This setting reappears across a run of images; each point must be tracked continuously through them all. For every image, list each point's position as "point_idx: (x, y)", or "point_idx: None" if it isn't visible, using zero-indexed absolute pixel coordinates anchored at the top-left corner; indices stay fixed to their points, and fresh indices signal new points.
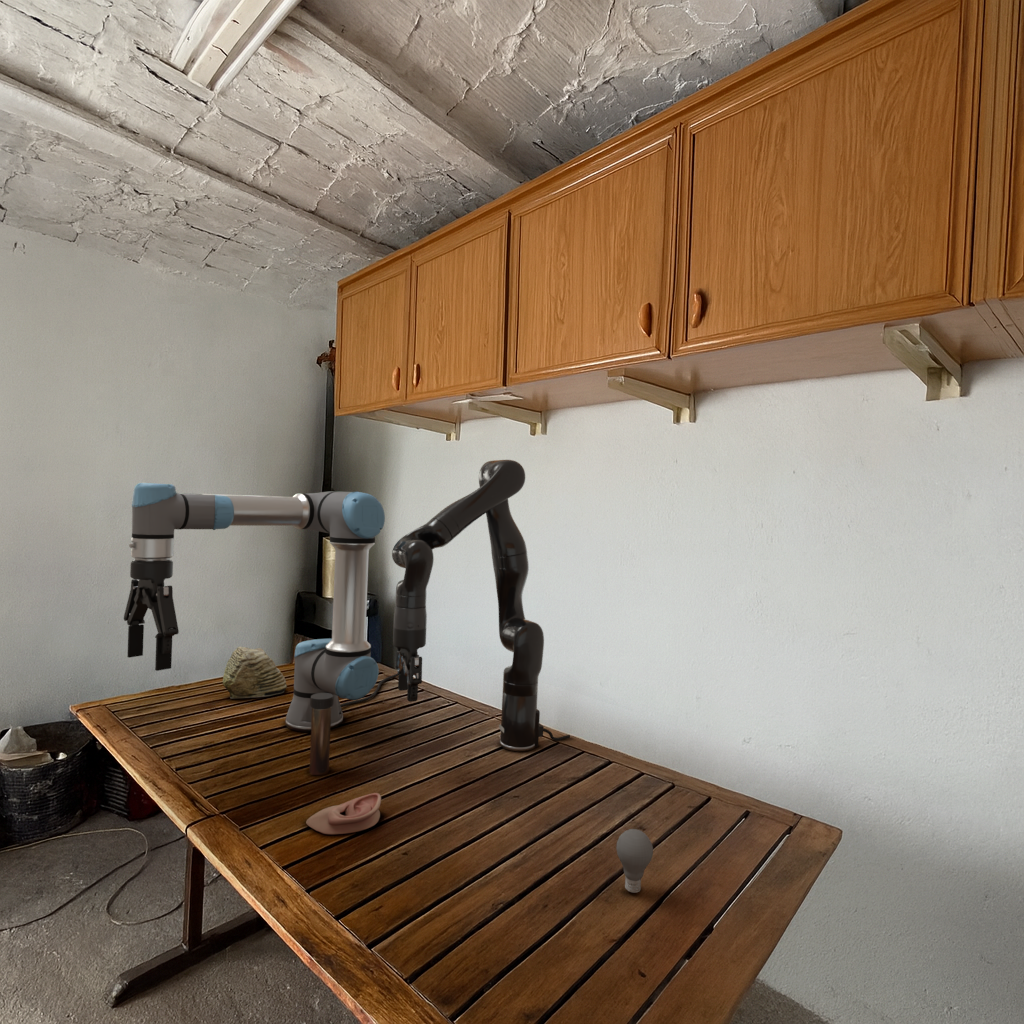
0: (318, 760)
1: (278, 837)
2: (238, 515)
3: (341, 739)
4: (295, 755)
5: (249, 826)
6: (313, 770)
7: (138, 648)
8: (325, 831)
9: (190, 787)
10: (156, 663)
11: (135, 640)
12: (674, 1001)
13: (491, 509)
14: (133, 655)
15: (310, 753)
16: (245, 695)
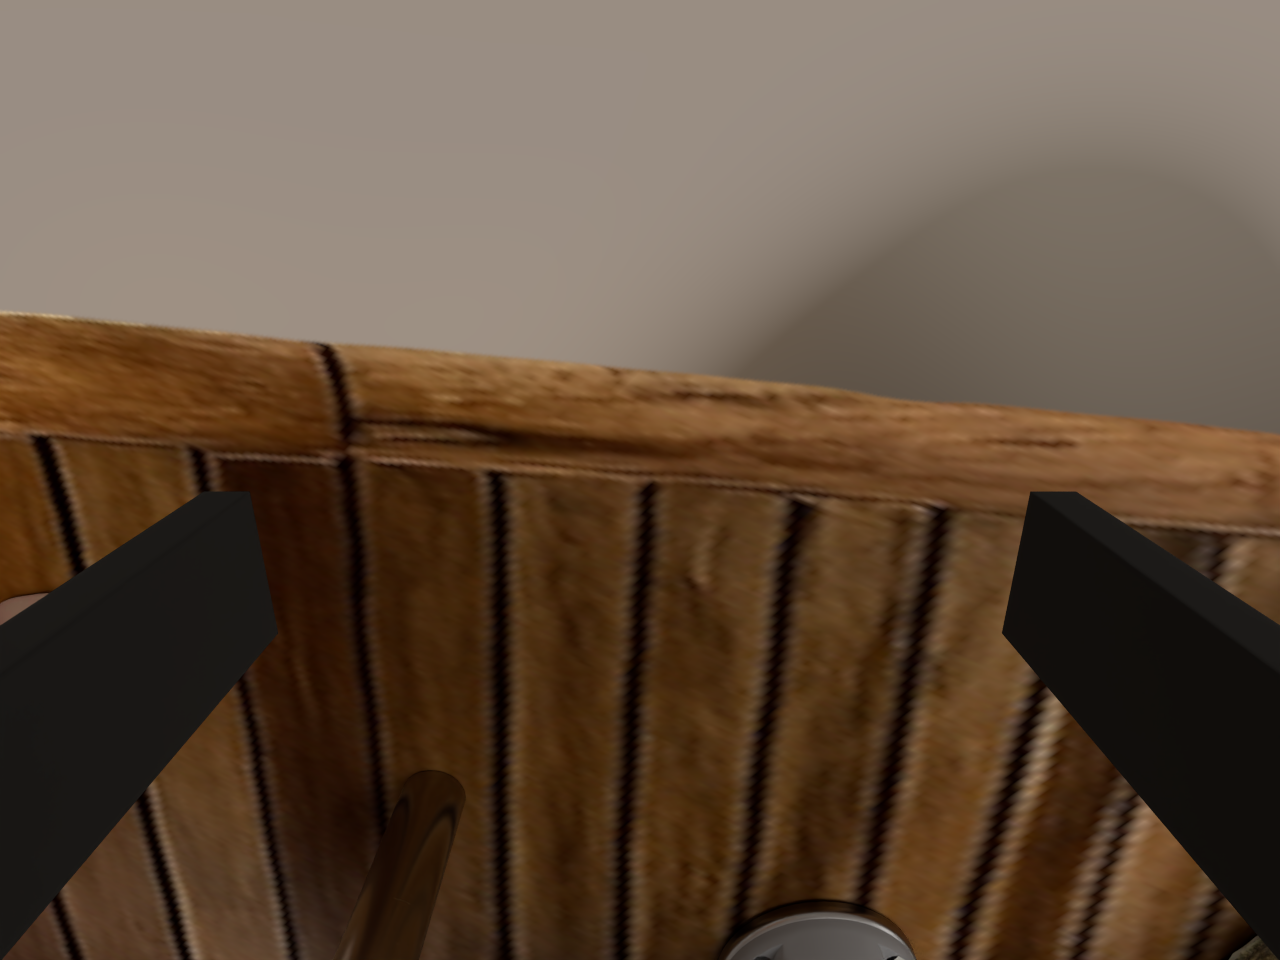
0: (392, 818)
1: (76, 503)
2: None
3: (616, 952)
4: (604, 809)
5: (198, 477)
6: (416, 782)
7: (1063, 641)
8: (5, 605)
9: (612, 473)
10: (173, 527)
11: (1152, 677)
12: None
13: None
14: (1030, 548)
15: (424, 824)
16: (1250, 956)
